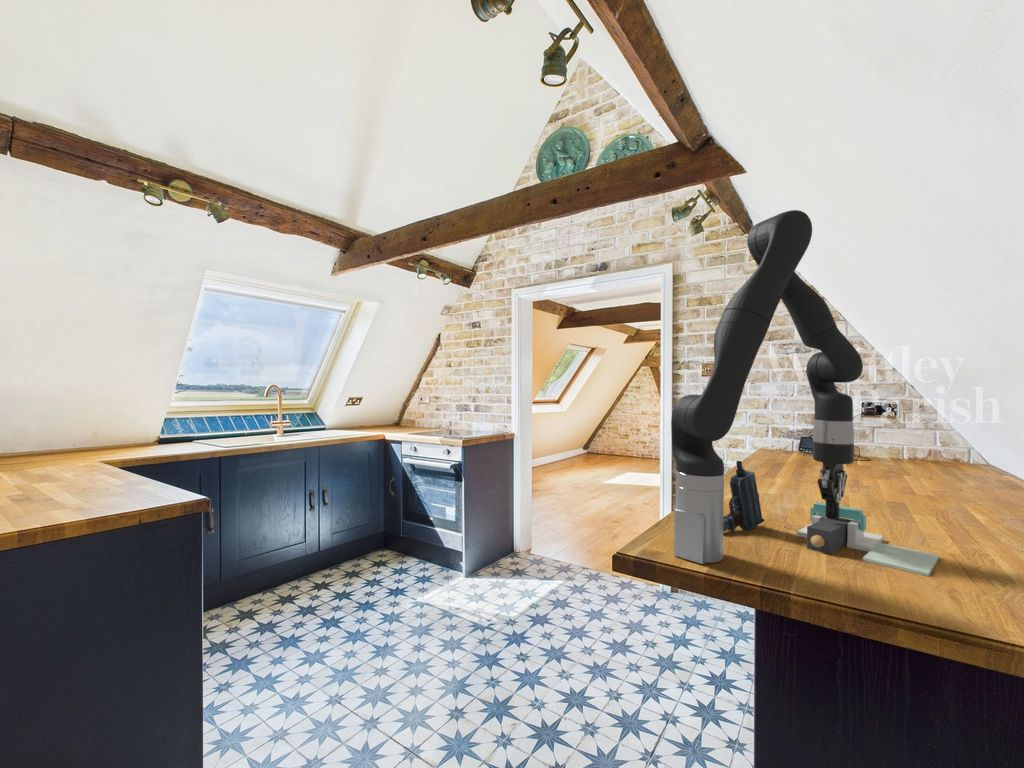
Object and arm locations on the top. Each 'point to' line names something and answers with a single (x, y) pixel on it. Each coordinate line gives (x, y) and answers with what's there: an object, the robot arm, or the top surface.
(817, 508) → the teal drawer handle
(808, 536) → the grey block with knob
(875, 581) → the top surface
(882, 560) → the mat
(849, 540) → the clamp
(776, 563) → the top surface
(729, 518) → the gun
